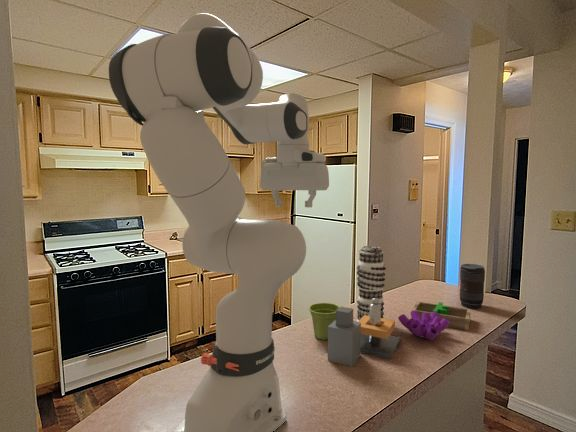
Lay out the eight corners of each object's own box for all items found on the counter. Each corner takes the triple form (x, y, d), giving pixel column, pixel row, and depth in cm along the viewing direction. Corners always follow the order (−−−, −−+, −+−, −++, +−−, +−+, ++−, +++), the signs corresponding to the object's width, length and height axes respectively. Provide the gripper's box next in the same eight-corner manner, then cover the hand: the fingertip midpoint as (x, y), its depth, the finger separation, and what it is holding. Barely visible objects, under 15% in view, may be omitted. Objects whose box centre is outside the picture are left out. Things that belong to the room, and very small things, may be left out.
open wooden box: (468, 330, 113) (468, 319, 112) (411, 320, 121) (411, 310, 121) (470, 319, 121) (470, 309, 121) (416, 311, 130) (417, 301, 129)
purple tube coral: (405, 351, 106) (389, 320, 110) (431, 337, 116) (415, 308, 120) (435, 338, 99) (416, 306, 102) (461, 324, 108) (443, 295, 112)
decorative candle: (386, 319, 122) (387, 245, 120) (382, 329, 114) (384, 250, 111) (358, 315, 126) (359, 243, 123) (353, 325, 117) (354, 248, 115)
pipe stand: (390, 359, 95) (391, 308, 93) (347, 349, 101) (347, 301, 99) (401, 341, 105) (402, 295, 104) (360, 333, 111) (361, 290, 110)
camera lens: (453, 304, 137) (455, 264, 135) (469, 301, 140) (470, 262, 139) (472, 311, 129) (474, 269, 128) (488, 307, 133) (490, 267, 131)
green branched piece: (444, 326, 116) (444, 312, 115) (432, 323, 118) (432, 310, 117) (449, 315, 125) (450, 303, 124) (438, 313, 127) (439, 301, 126)
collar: (386, 339, 96) (387, 331, 96) (354, 332, 101) (354, 325, 101) (394, 327, 104) (395, 320, 104) (364, 321, 109) (364, 315, 108)
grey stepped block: (352, 366, 91) (352, 315, 90) (327, 360, 95) (327, 311, 93) (360, 355, 97) (361, 307, 96) (337, 349, 100) (337, 303, 99)
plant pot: (303, 338, 107) (303, 310, 107) (316, 327, 116) (316, 300, 115) (333, 345, 103) (333, 315, 102) (344, 332, 111) (344, 305, 111)
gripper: (255, 157, 103) (256, 206, 104) (322, 154, 93) (321, 208, 94) (267, 158, 108) (267, 205, 109) (331, 155, 98) (331, 207, 99)
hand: (293, 206), depth 102 cm, fingers open, 8 cm apart
